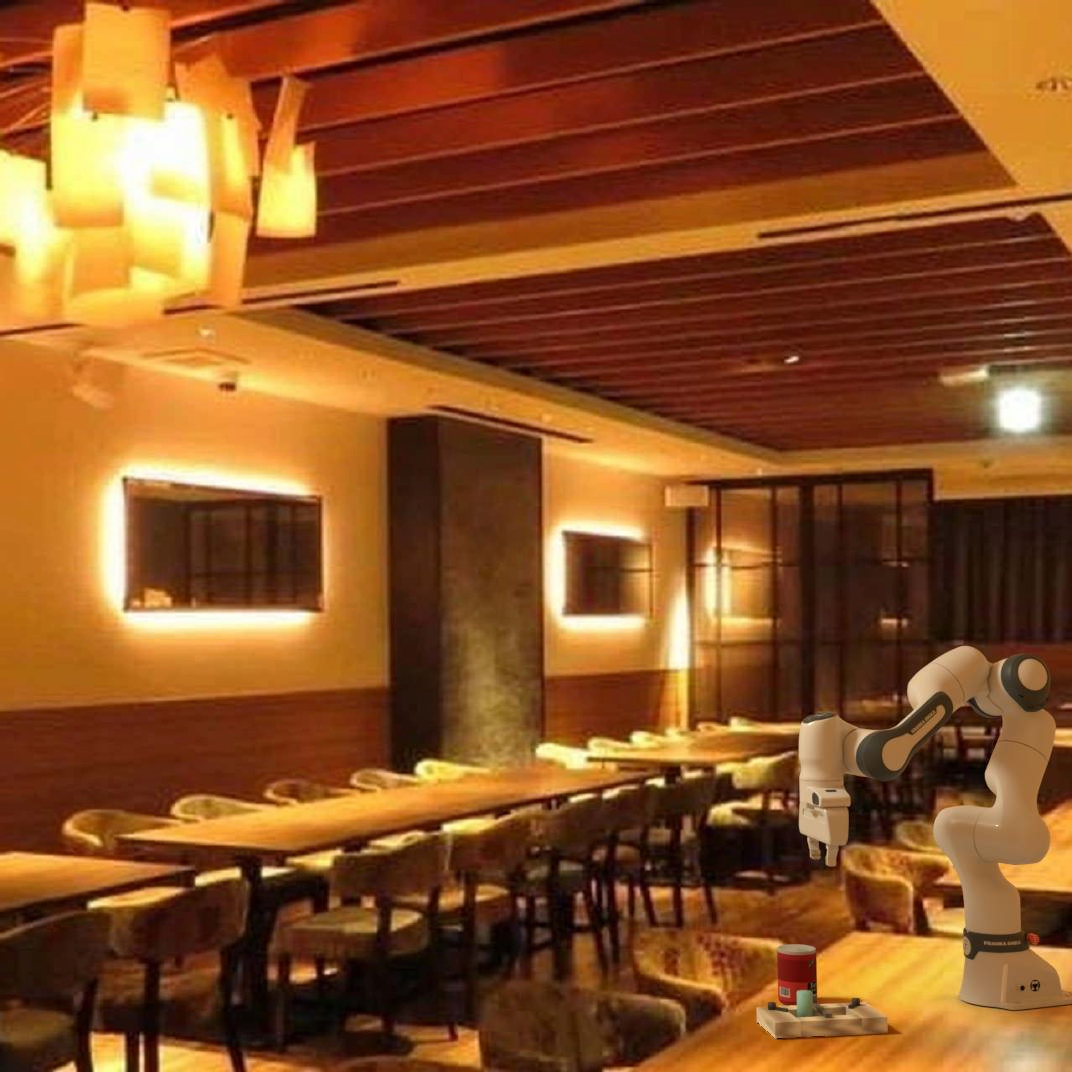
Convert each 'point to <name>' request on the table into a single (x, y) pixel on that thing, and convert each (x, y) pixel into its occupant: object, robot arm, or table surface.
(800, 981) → the canned food
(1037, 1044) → the table surface
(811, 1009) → the pale green rounded block
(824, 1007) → the shelf
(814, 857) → the robot arm
